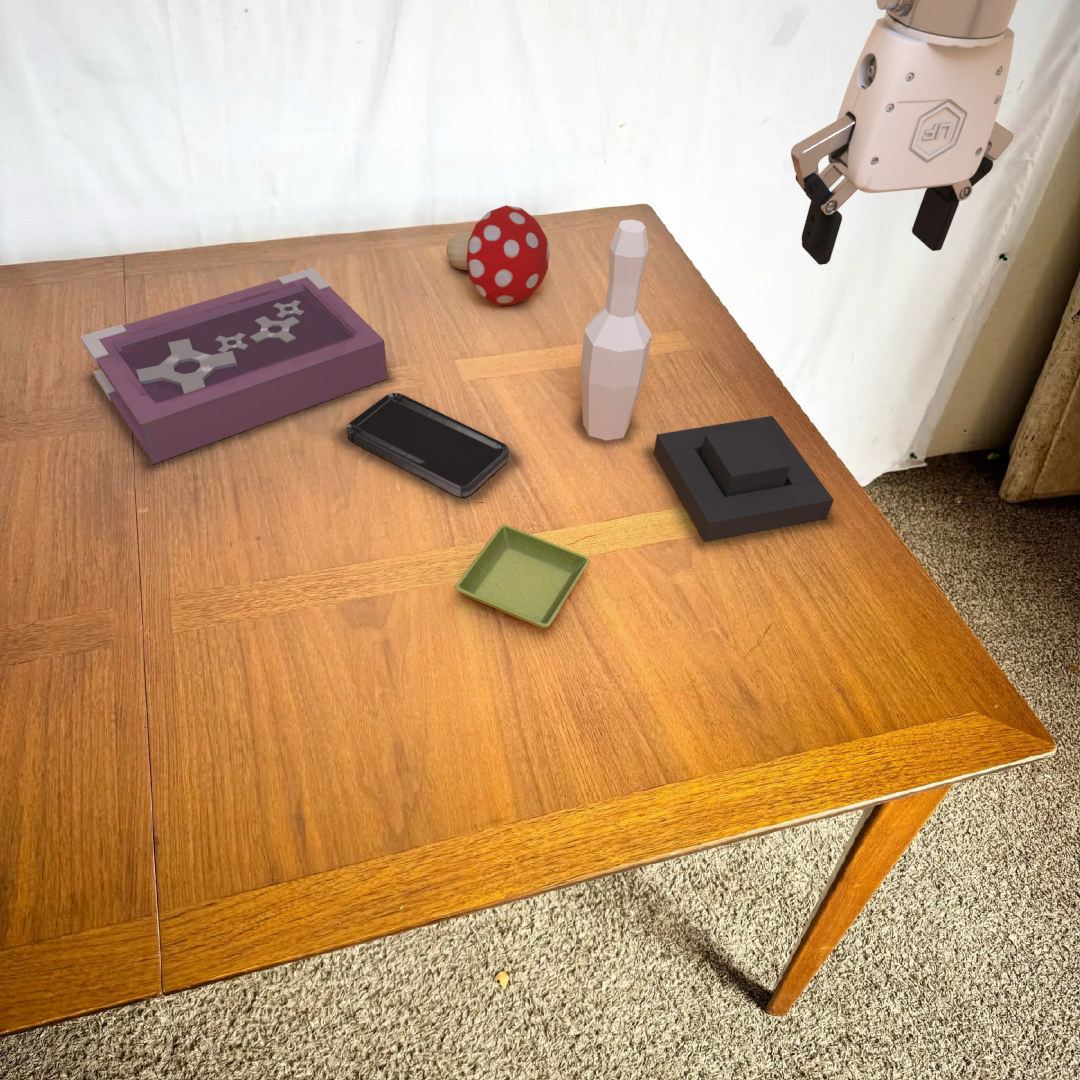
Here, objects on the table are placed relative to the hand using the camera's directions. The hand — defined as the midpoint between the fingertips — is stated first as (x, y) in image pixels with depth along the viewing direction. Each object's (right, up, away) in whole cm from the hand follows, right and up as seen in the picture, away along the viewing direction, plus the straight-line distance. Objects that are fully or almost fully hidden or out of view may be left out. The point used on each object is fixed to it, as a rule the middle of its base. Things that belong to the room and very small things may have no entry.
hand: (870, 248), depth 73 cm
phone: (-36, -13, +21) cm, 44 cm away
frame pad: (-6, -17, +20) cm, 27 cm away
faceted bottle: (-19, -11, +25) cm, 33 cm away
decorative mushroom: (-31, +8, +42) cm, 53 cm away
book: (-56, -5, +27) cm, 63 cm away
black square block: (-6, -17, +20) cm, 27 cm away
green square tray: (-27, -27, +9) cm, 39 cm away
